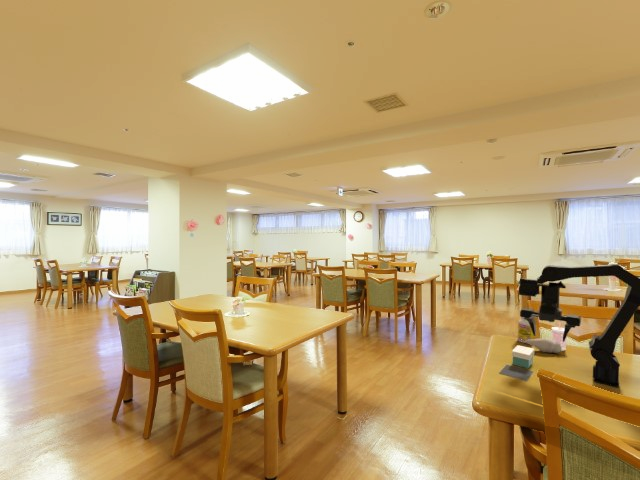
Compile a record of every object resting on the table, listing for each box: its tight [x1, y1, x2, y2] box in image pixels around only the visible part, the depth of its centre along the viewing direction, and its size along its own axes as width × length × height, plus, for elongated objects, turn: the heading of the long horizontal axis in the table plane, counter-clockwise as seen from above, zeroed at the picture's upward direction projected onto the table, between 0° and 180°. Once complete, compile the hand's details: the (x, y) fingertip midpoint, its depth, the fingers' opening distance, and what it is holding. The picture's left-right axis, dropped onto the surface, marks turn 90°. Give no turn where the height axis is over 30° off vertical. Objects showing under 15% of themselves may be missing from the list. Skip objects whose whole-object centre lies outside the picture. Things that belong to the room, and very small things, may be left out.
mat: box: [498, 364, 534, 382], centre depth 122 cm, size 9×11×1 cm
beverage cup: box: [551, 320, 568, 351], centre depth 148 cm, size 6×6×14 cm
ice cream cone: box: [523, 337, 562, 354], centre depth 144 cm, size 6×6×15 cm
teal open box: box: [512, 355, 534, 370], centre depth 130 cm, size 5×8×4 cm, turn 137°
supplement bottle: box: [517, 317, 535, 345], centre depth 157 cm, size 7×7×13 cm
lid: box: [511, 345, 536, 360], centre depth 130 cm, size 6×9×2 cm, turn 137°
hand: (548, 338), depth 126 cm, fingers open, 9 cm apart
